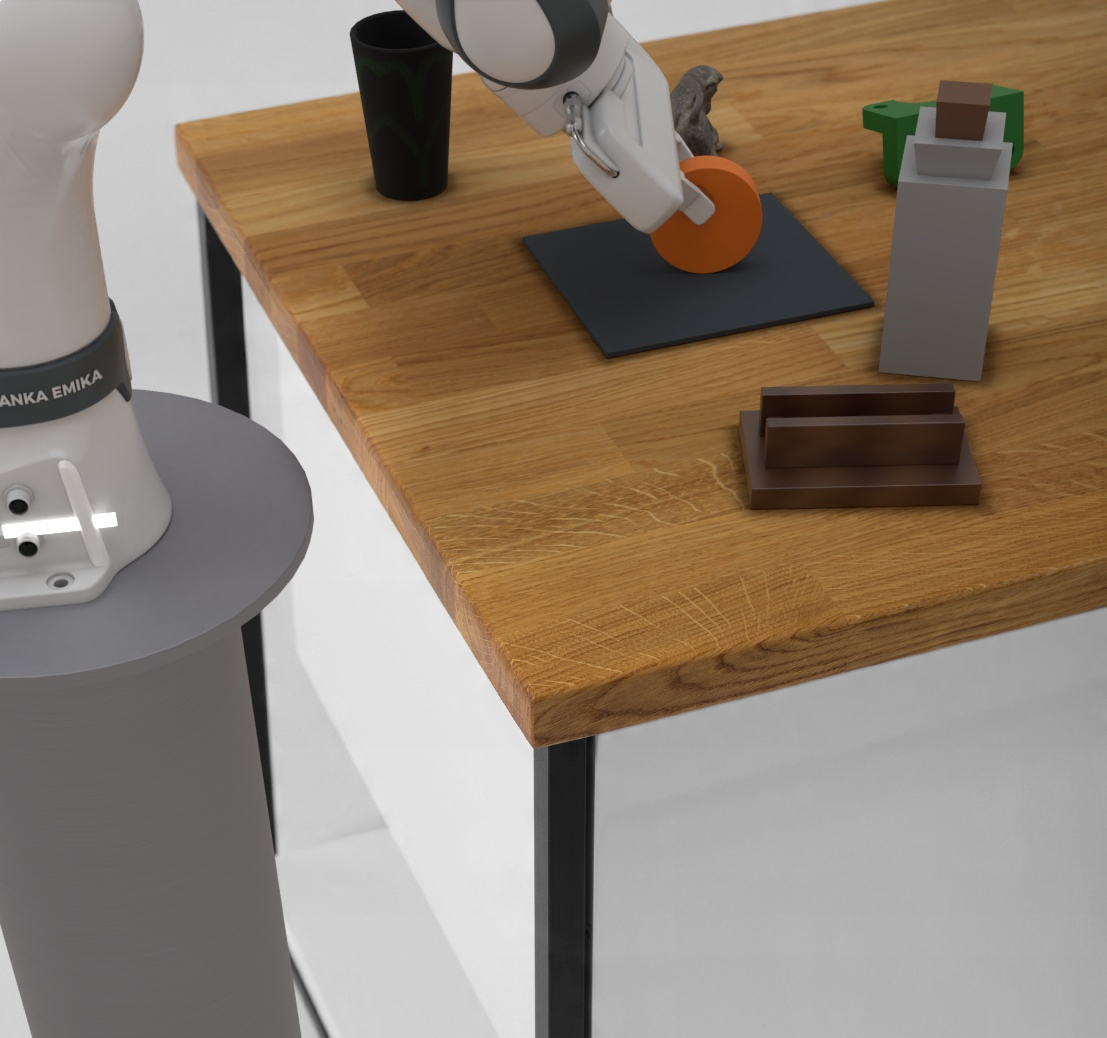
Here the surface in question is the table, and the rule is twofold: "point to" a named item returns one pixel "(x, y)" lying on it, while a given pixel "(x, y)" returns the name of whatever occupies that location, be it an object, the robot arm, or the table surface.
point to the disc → (713, 219)
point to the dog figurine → (696, 110)
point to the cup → (404, 103)
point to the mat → (691, 284)
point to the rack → (857, 447)
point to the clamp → (903, 117)
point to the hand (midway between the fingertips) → (706, 201)
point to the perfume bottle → (946, 237)
